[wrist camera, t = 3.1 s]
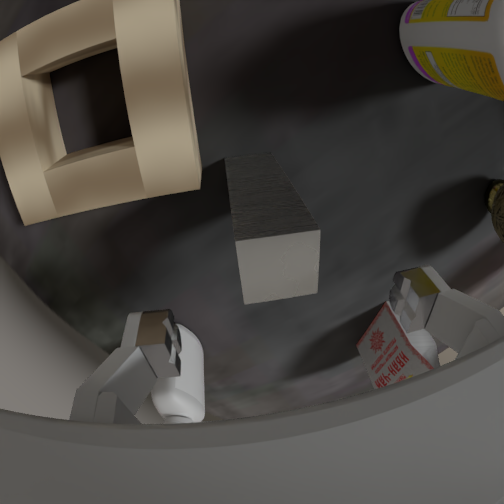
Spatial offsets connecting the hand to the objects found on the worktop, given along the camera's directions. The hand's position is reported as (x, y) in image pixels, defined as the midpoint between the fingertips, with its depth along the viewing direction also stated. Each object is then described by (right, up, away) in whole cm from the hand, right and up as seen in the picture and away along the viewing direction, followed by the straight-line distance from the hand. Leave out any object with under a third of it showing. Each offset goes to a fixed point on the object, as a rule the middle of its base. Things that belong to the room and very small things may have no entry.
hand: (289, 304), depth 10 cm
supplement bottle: (+12, +17, +4) cm, 21 cm away
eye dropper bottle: (-8, -7, +17) cm, 20 cm away
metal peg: (-1, +7, +9) cm, 11 cm away
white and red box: (+13, -6, +20) cm, 25 cm away
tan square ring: (-11, +11, +5) cm, 16 cm away
